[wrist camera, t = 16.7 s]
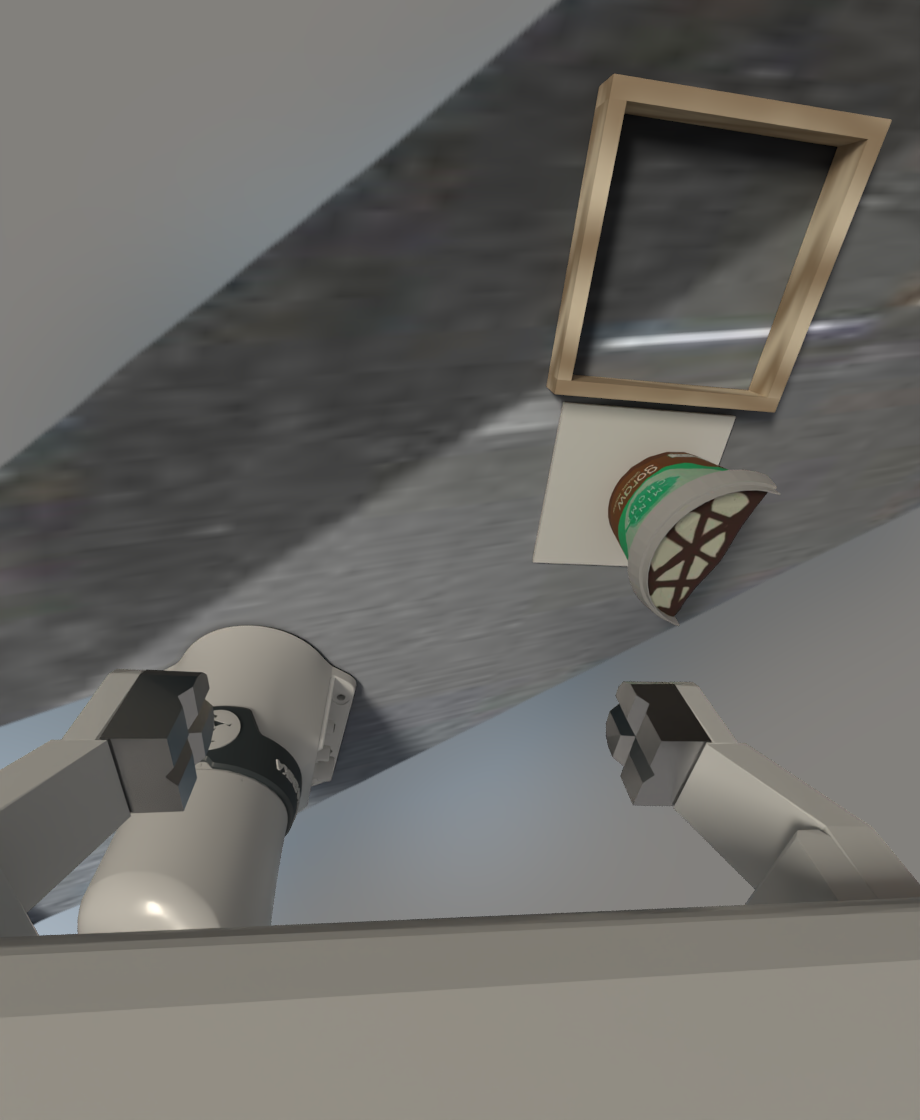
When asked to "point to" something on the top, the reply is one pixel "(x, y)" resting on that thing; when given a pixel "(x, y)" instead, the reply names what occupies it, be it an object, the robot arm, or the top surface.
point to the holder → (814, 261)
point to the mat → (610, 471)
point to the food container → (679, 523)
